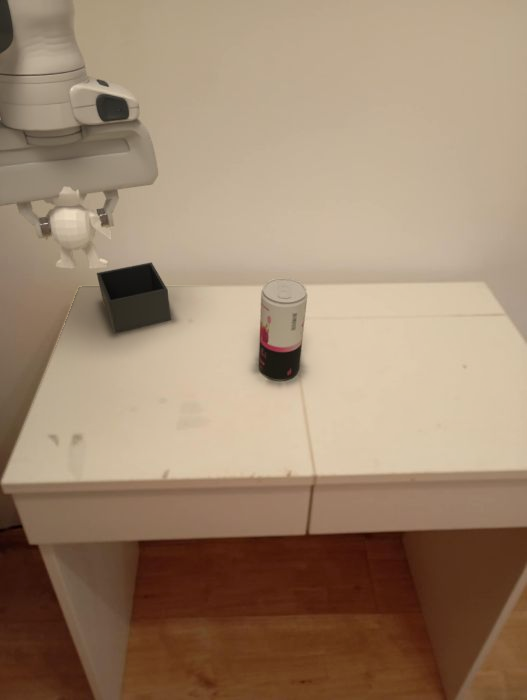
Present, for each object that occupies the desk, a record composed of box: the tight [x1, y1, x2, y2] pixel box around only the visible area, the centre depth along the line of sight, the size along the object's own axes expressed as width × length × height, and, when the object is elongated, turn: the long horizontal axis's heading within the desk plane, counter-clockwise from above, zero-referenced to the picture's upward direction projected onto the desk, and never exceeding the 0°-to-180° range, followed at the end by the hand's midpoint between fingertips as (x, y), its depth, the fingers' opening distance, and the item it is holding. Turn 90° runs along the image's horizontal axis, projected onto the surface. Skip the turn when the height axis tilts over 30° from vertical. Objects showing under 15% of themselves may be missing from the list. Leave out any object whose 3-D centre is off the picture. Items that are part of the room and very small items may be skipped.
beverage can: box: [258, 277, 308, 381], centre depth 71 cm, size 7×7×15 cm
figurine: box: [43, 186, 112, 270], centre depth 54 cm, size 8×5×12 cm, turn 93°
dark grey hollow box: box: [96, 262, 172, 334], centre depth 84 cm, size 10×10×6 cm
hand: (76, 230), depth 55 cm, fingers closed on figurine, 5 cm apart
